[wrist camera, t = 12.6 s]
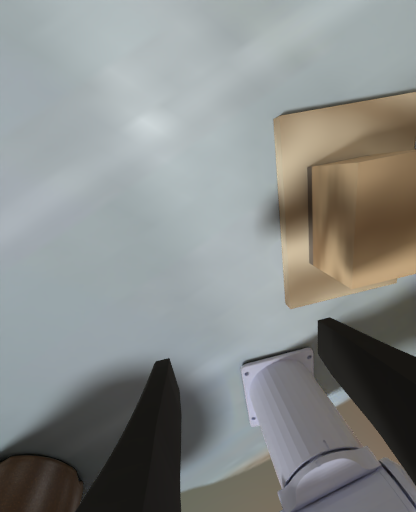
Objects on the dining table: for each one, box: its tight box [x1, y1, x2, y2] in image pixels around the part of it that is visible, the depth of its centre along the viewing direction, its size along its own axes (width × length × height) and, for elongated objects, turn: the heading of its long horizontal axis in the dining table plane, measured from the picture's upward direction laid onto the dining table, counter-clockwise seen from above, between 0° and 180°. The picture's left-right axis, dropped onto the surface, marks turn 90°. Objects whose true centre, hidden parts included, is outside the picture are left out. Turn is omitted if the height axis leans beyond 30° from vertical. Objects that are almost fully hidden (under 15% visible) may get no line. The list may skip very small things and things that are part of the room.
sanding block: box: [307, 149, 416, 289], centre depth 16 cm, size 8×5×5 cm, turn 10°
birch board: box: [273, 92, 416, 309], centre depth 19 cm, size 16×11×1 cm
